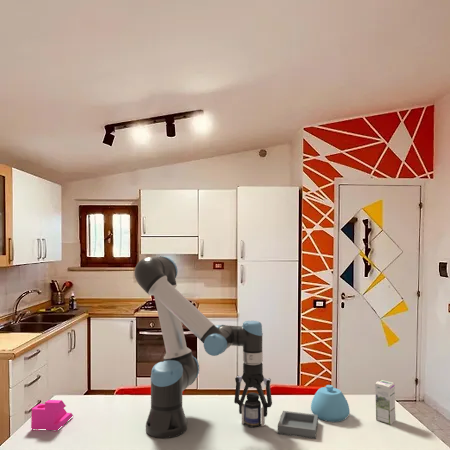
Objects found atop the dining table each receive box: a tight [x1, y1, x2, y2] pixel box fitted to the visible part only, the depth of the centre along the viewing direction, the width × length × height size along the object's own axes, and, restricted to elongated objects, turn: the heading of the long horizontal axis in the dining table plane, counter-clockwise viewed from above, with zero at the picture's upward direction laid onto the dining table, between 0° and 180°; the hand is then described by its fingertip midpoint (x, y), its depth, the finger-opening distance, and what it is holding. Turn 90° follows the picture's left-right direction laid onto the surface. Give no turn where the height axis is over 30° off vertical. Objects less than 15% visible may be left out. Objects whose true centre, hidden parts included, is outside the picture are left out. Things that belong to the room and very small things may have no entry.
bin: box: [277, 410, 319, 440], centre depth 148 cm, size 13×13×3 cm
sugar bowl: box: [310, 384, 351, 423], centre depth 160 cm, size 15×15×12 cm
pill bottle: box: [244, 392, 262, 428], centre depth 151 cm, size 6×6×11 cm
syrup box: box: [374, 379, 396, 425], centre depth 155 cm, size 6×6×14 cm
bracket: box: [30, 399, 74, 430], centre depth 152 cm, size 12×10×10 cm
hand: (253, 423), depth 151 cm, fingers open, 7 cm apart
